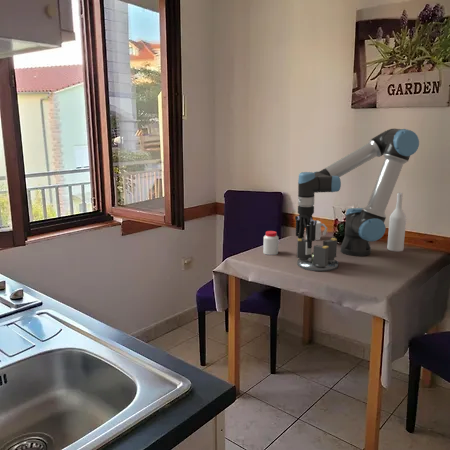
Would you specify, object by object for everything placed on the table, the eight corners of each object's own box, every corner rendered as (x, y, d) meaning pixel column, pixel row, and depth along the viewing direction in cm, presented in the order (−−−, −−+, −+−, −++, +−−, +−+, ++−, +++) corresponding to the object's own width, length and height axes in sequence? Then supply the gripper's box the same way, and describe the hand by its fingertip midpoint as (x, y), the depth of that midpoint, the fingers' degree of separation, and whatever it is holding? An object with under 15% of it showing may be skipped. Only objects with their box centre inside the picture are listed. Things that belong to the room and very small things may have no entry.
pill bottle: (277, 255, 232) (278, 234, 229) (262, 254, 233) (262, 233, 231) (278, 251, 239) (279, 230, 236) (264, 250, 241) (264, 230, 238)
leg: (311, 265, 210) (312, 245, 208) (317, 263, 213) (317, 243, 211) (323, 268, 206) (324, 247, 204) (328, 266, 209) (329, 245, 207)
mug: (307, 240, 258) (307, 223, 256) (304, 236, 267) (305, 220, 264) (328, 240, 258) (329, 223, 256) (325, 236, 266) (326, 220, 264)
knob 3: (327, 261, 216) (328, 241, 214) (321, 258, 220) (321, 239, 218) (337, 259, 219) (338, 239, 217) (331, 256, 223) (332, 237, 221)
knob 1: (309, 257, 222) (310, 238, 220) (311, 260, 218) (312, 240, 216) (296, 257, 222) (297, 238, 220) (297, 260, 218) (298, 240, 216)
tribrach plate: (333, 258, 226) (334, 245, 224) (342, 271, 207) (342, 257, 206) (295, 258, 226) (295, 245, 225) (300, 271, 208) (300, 256, 206)
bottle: (406, 249, 240) (411, 193, 232) (396, 252, 235) (401, 195, 228) (393, 246, 246) (398, 191, 239) (383, 248, 242) (388, 192, 235)
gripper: (288, 203, 220) (287, 249, 225) (311, 209, 205) (310, 259, 210) (300, 201, 223) (299, 247, 229) (324, 207, 208) (322, 256, 214)
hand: (304, 252), depth 219 cm, fingers open, 4 cm apart
